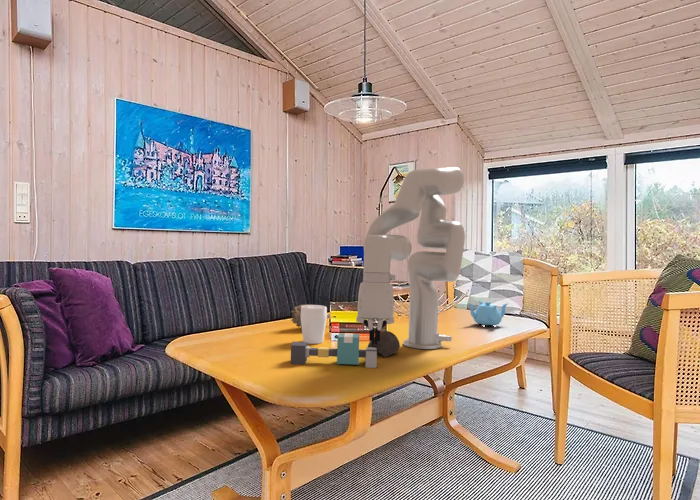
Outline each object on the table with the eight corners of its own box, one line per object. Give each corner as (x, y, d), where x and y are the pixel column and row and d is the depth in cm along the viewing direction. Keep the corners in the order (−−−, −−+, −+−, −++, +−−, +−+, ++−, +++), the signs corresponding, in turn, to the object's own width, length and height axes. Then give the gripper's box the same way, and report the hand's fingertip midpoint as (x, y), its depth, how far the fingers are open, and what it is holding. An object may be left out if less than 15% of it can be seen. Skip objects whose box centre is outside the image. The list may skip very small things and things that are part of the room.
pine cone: (301, 333, 173) (301, 306, 172) (285, 329, 179) (285, 303, 179) (343, 326, 188) (344, 301, 188) (327, 323, 195) (328, 299, 195)
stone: (367, 368, 143) (384, 350, 137) (358, 344, 148) (375, 326, 143) (392, 368, 148) (410, 351, 143) (383, 345, 154) (400, 328, 148)
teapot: (466, 325, 197) (466, 301, 197) (479, 321, 207) (480, 298, 207) (495, 330, 189) (496, 305, 189) (508, 325, 199) (508, 301, 199)
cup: (322, 345, 154) (323, 309, 154) (296, 343, 156) (297, 307, 156) (329, 339, 163) (330, 305, 163) (304, 338, 165) (305, 304, 165)
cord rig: (376, 361, 136) (376, 343, 136) (376, 367, 130) (376, 349, 129) (293, 358, 137) (294, 340, 137) (289, 364, 130) (290, 346, 130)
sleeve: (358, 359, 136) (359, 333, 135) (358, 364, 131) (359, 337, 130) (338, 359, 136) (338, 332, 136) (336, 363, 131) (337, 336, 131)
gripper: (402, 278, 136) (400, 341, 136) (350, 276, 136) (348, 339, 137) (404, 280, 128) (401, 347, 129) (349, 278, 129) (347, 345, 129)
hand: (374, 343), depth 133 cm, fingers closed
